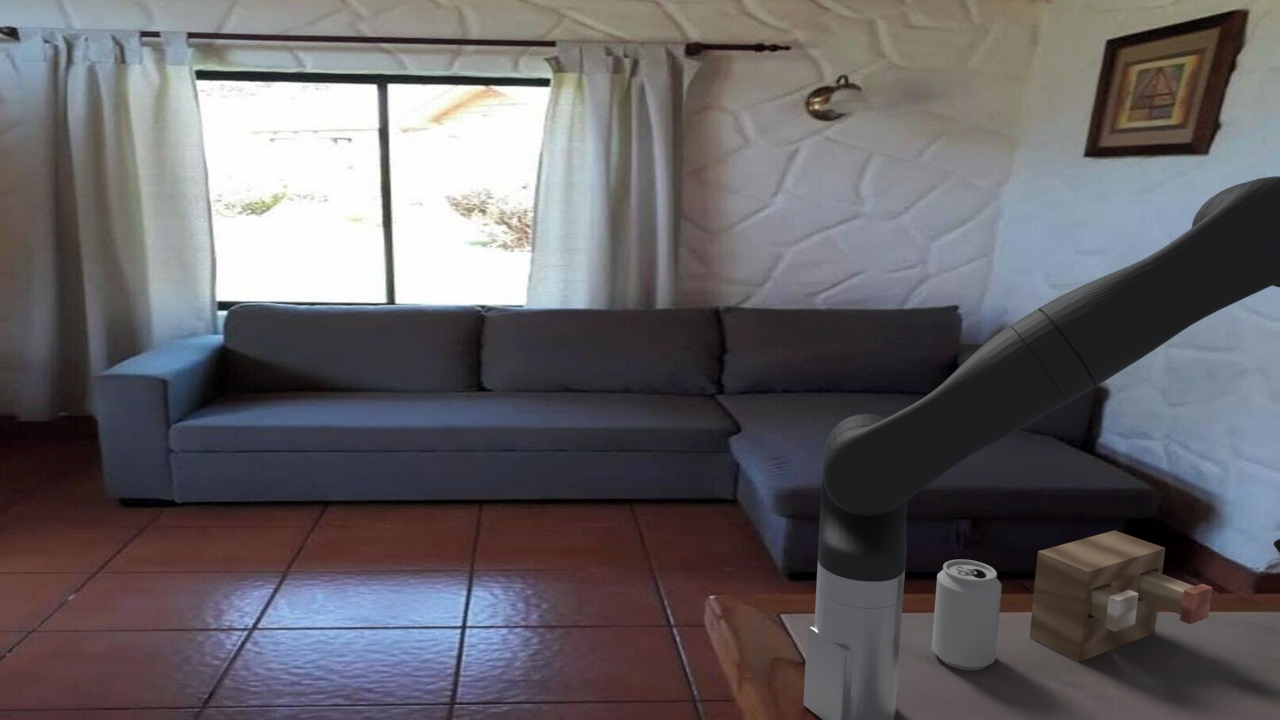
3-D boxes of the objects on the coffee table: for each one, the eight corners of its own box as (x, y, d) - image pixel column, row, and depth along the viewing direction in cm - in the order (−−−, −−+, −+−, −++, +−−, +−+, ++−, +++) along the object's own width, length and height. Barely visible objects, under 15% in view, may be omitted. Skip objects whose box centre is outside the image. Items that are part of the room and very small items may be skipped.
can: (1000, 677, 104) (1008, 583, 102) (935, 670, 106) (942, 577, 103) (988, 646, 111) (996, 558, 109) (927, 640, 113) (934, 553, 111)
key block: (1078, 662, 108) (1088, 571, 106) (1029, 637, 114) (1037, 551, 112) (1154, 633, 115) (1165, 548, 113) (1105, 611, 121) (1114, 530, 119)
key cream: (1114, 631, 104) (1118, 600, 104) (1046, 600, 112) (1050, 571, 111) (1134, 624, 106) (1138, 593, 105) (1066, 594, 114) (1069, 565, 113)
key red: (1189, 624, 106) (1194, 594, 105) (1118, 594, 114) (1121, 566, 113) (1208, 617, 108) (1212, 587, 107) (1136, 588, 116) (1139, 560, 115)
